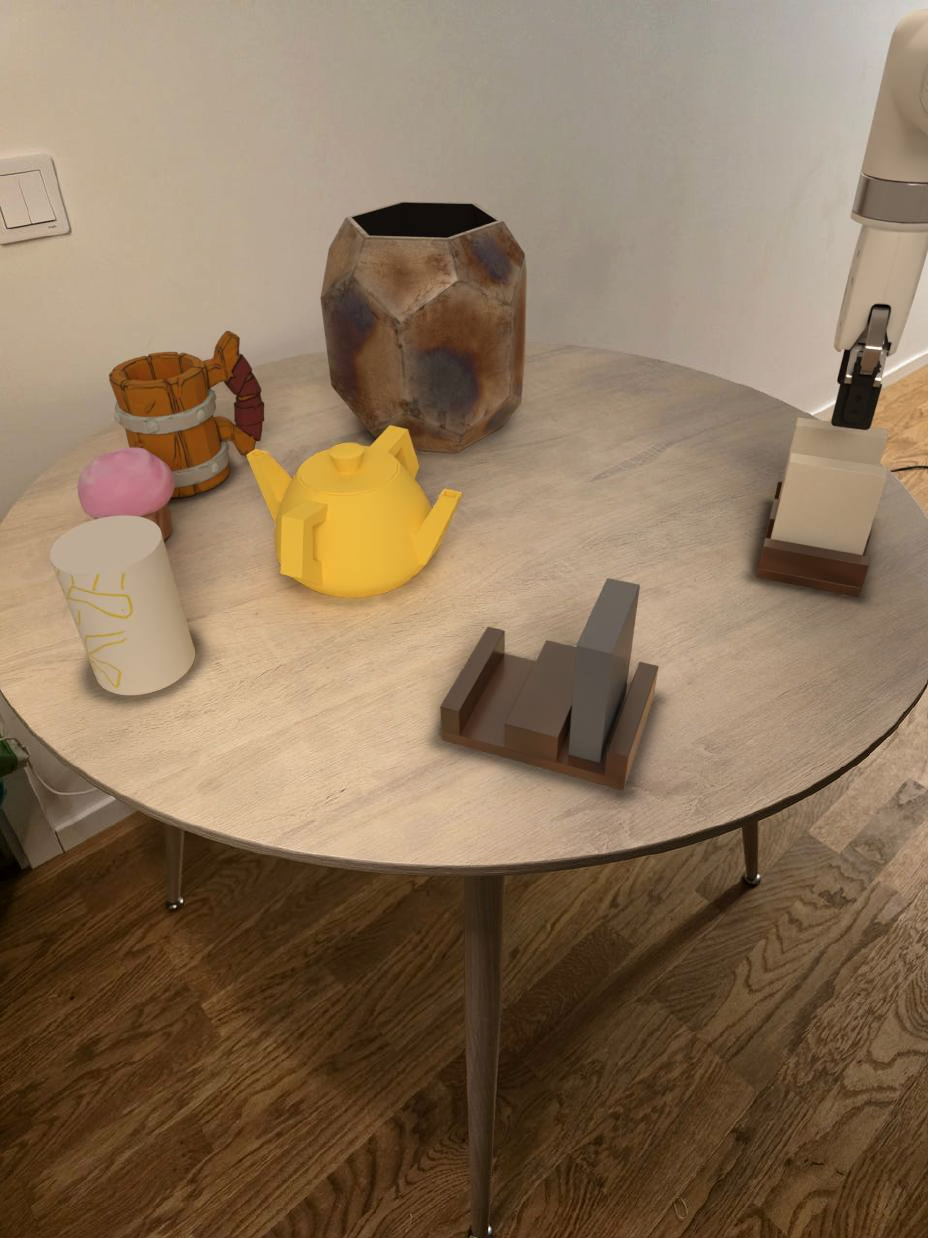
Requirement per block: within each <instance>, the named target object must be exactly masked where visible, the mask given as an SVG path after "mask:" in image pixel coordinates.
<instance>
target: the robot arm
mask: <svg viewBox="0 0 928 1238" xmlns="http://www.w3.org/2000/svg"><path fill="white" fill-rule="evenodd" d="M868 134H869V135H868V138H867V142H866V147H865V152H864V155H863V156H864V157H863V160H862V165H861V170H860V172H859V178H858V181H857V185H856V190H855V195H854V199H853V203H852V208H851V213H850V219H851V220H852V221H854V222H855V223H858V224H861V227H860V230H859V234H858V237H857V241H856V244H855V248H854V251H853V255H852V259H851V264H850V268H849V272H848V276H847V281H846V283H845V288H844V294H843V297H842V302H841V305H840V306H841V307H840V310H839V315H838V318H837V324H836V329H835V334H834V341H833V348H834V349H835V350H836V352H838V353H841V352H842V350H843V353H842V358H841V361H840V366H839V370H838V374H837V379H836V382H837V384H838V385H839V387H838V391H837V395H836V398H835V404H834V408H833V411H832V415H831V420H830V422H831V424H832V425H833V426H837V427H844V428H852V429H860V430H868V429H869V428H870V427H872V423H873V420H874V416H875V413H876V409H877V405H878V402H879V398H880V395H881V392H882V388H883V383H882V379H883V374H884V370H885V365H886V361H887V358H889V357H891V356H892V355H894V354H896V352H897V350H898V347H899V345H900V342H901V339H902V337H903V334H904V330H905V327H906V325H907V324H906V323H907V322H908V320H909V319H908V318H909V315H910V312H911V309H912V306H913V303H914V299H915V296H916V293H917V290H918V286H919V283H920V280H921V276H922V273H923V269H924V266H925V262H926V259H927V256H928V8H922V9H918V10H914V11H911V12H908V14H906V15H905V16H903V17H902V18H901V19H900V20H899V21H898V23H897V25H896V26H895V28H894V30H893V32H892V35H891V38H890V41H889V45H888V50H887V54H886V59H885V62H884V67H883V72H882V76H881V80H880V85H879V89H878V93H877V98H876V102H875V108H874V112H873V116H872V120H871V125H870V131H869V133H868Z"/></svg>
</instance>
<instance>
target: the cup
mask: <svg viewBox="0 0 928 1238" xmlns="http://www.w3.org/2000/svg"><path fill="white" fill-rule="evenodd" d="M49 560H50V563H51V565H52V568H53V571H54V573H55V576H56V578H57V581H58V583H59V586H60V588H61V591H62V593H63V596H64V599H65V601H66V604H67V606H68V609H69V612H70V614H71V617H72V619H73V622H74V625H75V627H76V629H77V632H78V635H79V638H80V640H81V642H82V646H83V648H84V650H85V653H86V655H87V658H88V661H89V663H90V665H91V668H92V671H93V673H94V676H95V679H96V681H97V683H98V684H99V685H100V687H101V688H103V689H104V690H106V691H107V692H110V693H112V694H115V695H120V696H121V695H122V696H140V695H147V694H151V693H154V692H155V693H156V692H158V691H160V690H163V689H165V688H167V687H170V686H171V685H173V684H174V683H176V682H178V681H179V680H180V679H181V678H183V677H184V676H185V675H186V674H187V673H188V672H189V671H190V669H191V667H192V666H193V664H194V662H195V658H196V650H195V646H194V643H193V638H192V636H191V633H190V629H189V626H188V622H187V618H186V615H185V611H184V607H183V604H182V600H181V597H180V593H179V590H178V587H177V583H176V580H175V576H174V573H173V569H172V565H171V562H170V558H169V555H168V551H167V548H166V544H165V540H163V537H162V533H161V530H160V528H159V527H158V525H157V524H155V523H154V522H153V521H151V520H149V519H146V518H143V517H138V516H128V515H121V516H110V517H104V518H99V519H92V520H88V521H87V522H84V523H81V524H79V525H76V526H75V527H72V528H70V529H69V530H67V531H66V532H64V533H63V534H62V535H61V536H60V537H58V538H57V539H56V540H55V542H54V543H53V544H52V546H51V547H50V550H49Z"/></svg>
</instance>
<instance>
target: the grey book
mask: <svg viewBox="0 0 928 1238" xmlns="http://www.w3.org/2000/svg"><path fill="white" fill-rule="evenodd" d="M640 588H641V585H640V584H638V583H633V582H629V581H624V580H619V579H614V578H610V577H607V578H606V580H605V581H604V584H603V586H602V588H601V591H600V593H599V595H598V597H597V600H596V602H595V603H594V606H593V608H592V610H591V613H590V615H589V616H588V619H587V620H586V624H585V626H584V627H583V630H582V632H581V635H580V637H579V639H578V640H577V643H576V645H575V647H576V659H575V671H574V684H573V697H572V710H571V723H570V736H569V749H568V754H569V755H572V756H576V757H579V758H583V759H587V760H590V761H594V762H598V763H600V762H601V759H602V757H603V754H604V751H605V748H606V746H607V743H608V740H609V737H610V735H611V732H612V729H613V726H614V724H615V721H616V718H617V715H618V713H619V710H620V707H621V704H622V702H623V699H624V696H625V693H626V689H627V683H628V681H629V673H630V666H631V665H630V664H631V657H632V650H633V643H634V636H635V635H634V634H635V628H636V627H635V626H636V618H637V613H638V604H639V596H640V590H641V589H640Z"/></svg>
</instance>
